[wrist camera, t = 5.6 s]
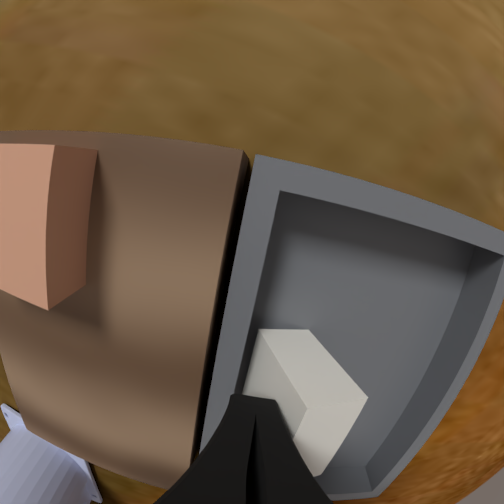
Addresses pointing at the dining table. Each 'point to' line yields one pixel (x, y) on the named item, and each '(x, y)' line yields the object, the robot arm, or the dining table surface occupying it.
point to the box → (361, 305)
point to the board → (131, 307)
